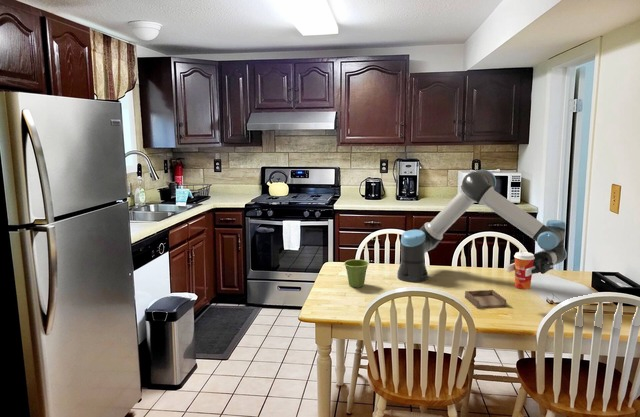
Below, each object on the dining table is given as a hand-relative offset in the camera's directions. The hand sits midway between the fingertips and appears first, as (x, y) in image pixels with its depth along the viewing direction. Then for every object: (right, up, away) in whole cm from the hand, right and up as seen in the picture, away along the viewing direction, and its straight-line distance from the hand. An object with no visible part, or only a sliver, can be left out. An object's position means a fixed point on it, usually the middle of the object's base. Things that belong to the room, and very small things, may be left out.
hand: (517, 270), depth 182 cm
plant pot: (-61, -13, +39) cm, 74 cm away
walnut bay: (-8, -15, +15) cm, 23 cm away
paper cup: (+4, -7, +4) cm, 10 cm away
